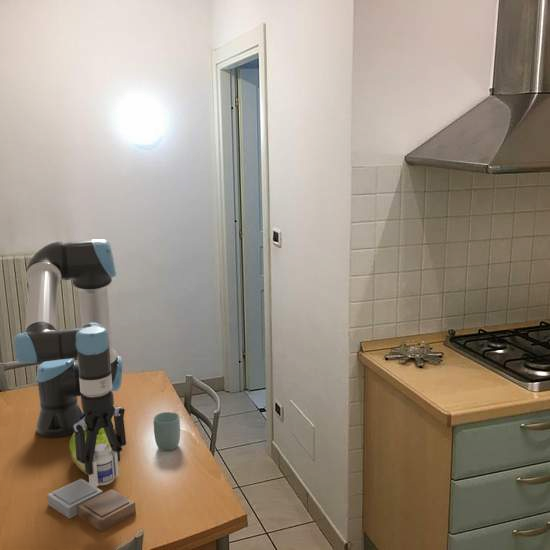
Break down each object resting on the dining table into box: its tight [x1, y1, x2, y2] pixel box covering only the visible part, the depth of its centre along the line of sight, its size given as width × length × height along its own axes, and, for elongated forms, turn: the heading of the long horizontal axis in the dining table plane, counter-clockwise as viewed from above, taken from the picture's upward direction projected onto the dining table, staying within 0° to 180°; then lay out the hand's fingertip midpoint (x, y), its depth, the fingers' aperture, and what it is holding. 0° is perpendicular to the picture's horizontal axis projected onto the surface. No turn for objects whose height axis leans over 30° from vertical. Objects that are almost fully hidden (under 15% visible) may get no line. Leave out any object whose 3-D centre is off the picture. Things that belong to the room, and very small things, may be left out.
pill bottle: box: [93, 444, 116, 486], centre depth 156 cm, size 5×5×9 cm
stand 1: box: [46, 478, 104, 519], centre depth 164 cm, size 10×10×3 cm
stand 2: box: [78, 489, 137, 533], centre depth 158 cm, size 10×10×3 cm
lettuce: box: [68, 424, 112, 476], centre depth 181 cm, size 12×24×13 cm
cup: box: [152, 411, 181, 452], centre depth 192 cm, size 8×8×10 cm
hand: (104, 479), depth 156 cm, fingers closed on pill bottle, 5 cm apart
